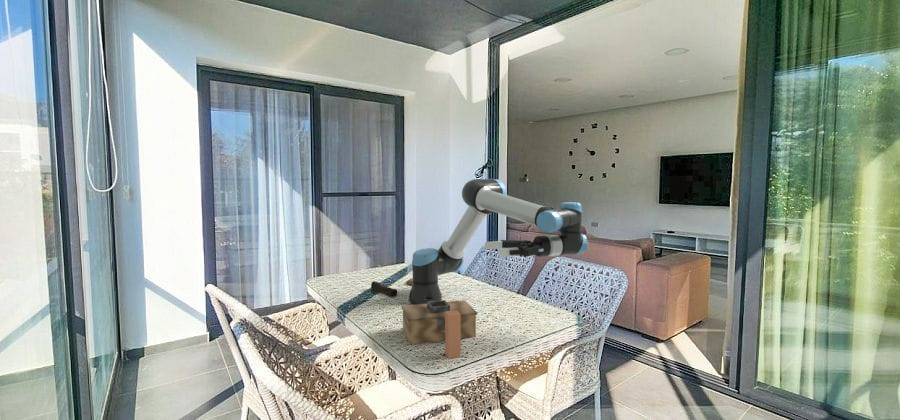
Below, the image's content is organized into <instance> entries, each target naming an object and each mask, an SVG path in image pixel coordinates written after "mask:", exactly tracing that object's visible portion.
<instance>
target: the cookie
mask: <svg viewBox="0 0 900 420" xmlns="http://www.w3.org/2000/svg"><path fill="white" fill-rule="evenodd" d="M406 284H407V285H408V286H409V287H412V285H413V277H412V278H409V279H408V280H407V281H406Z"/></svg>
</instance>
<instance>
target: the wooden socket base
mask: <svg viewBox="0 0 900 420" xmlns="http://www.w3.org/2000/svg"><path fill="white" fill-rule="evenodd" d="M401 310H402V330H403V332H404V335H405V337H406V340H407V342H408V344H409V345H416V344H426V343H433V342H441V341H443V342H444V341H445V311H455V310H457V311H458V312H459V313H460V314H461V339H469V338H475V337H477V336H476V334H477V333H476V332H477V331H476V329H477V328H476V326H477V319H476V318H477V315H478V312H477V311H476V310H475V309H474V308H473V306H472V305H470V304H469V303H468V302H467V300H465V299H464V300H462V299H461V300H452V301H446V299H445V300H444V299H442V300H441V301H430V302H427V304H417V305H415V304H409V305H401Z"/></svg>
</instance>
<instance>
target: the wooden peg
mask: <svg viewBox="0 0 900 420" xmlns="http://www.w3.org/2000/svg"><path fill="white" fill-rule="evenodd" d="M461 341H462V338H461V314H460V313H459V312H458V311H457V310H455V311H445V340H444V343H445V345H444V354H445V355H446V357H447V359H455V358H461V354H462V353H461V351H462V350H461V345H462V344H461V343H462V342H461Z"/></svg>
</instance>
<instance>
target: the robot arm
mask: <svg viewBox="0 0 900 420" xmlns="http://www.w3.org/2000/svg"><path fill="white" fill-rule="evenodd" d="M461 197H462V200H463V202H464V203H465V204H466V205H467V206H468V207H467V208H466V211H465V212H464V214H463V216H462V217H461V219H460V220H459V221H458V224H457V225H456V226H455V228H454V229H453V232H452V233H451V235H450V236H449V238H448V240H445V241H443V242H442V243H441V245H440V246H439V248H438V249H437V248H435V247H427V248H421V249H418V250H415V251H414V252H413V254H412V259H411V260H412V261H411V265H412V266H411V267H412V269H411V270H412V278H413V285H412V286H411V288H410V291H409V295H408V302H409V303H410V304H411V305H417V304H427V302H430V301H441V300H443V297H442V296H443V294H442V292H441V289H440V284H439V276H441V275H444V274H445V275H446V274H448V273H453V272H456V271H458V270H459V269H461V268H462V267H463V264H464V261H465V260H464V259H465V256H464V255H465V252H464V251H465V248H466V247H467V246H468V243H470V241H471V239H472V237H473V236H474V235H475V233H476V231H477V230H478V229H479V227H480V225H481V224H482V222H484V221H483V220H484V219H485V217H486V216H489V215H491V214H492V213H493V212H494V213H496V214H499V215H502V216H505V217H507V218H508V217H509V218H510V219H514V220H517V221H520V222H523V223H526V224H528V225H532V226H534V227H537V228H538V229H539V230H540V232H543V233H546V234H547V233H551V234H552V235H536V236H535V237H534V238H533V241H531V240H527V239H524V240H518V239H516V240H514V239H500V240H498V241H497V240H495V241H493V240H492V241H485V242H484V249H485V250H498V253H499V254H498V255H499V257H500V258H502V257H516V256H519V257H523V258H527V257H530V256H536V257H539V258H540V257H541V258H542V257H552V258H555V257H556V256H569V255H570V256H576V255H581V254H585V253H586V252H587V251H588V250H589V249H588V248H589V241H588V237H587V236H586V235H585V234H583V233H582V222H583V221H582V215H583V209H582V204H581V203H580V202H576V201H575V202H573V201H572V202H571V201H569V202H568V201H567V202H566V201H565V202H562V203H561V204H560V208H558V209H557V208H556V209H554V208H550V207H546V206H544V205H540V204H537V203H534V202H530V201H527V200H524V199H520V198H517V197H513V196H511V195H508V193H507V188H506V186H505V184H504V182H502V181H501V180H500V179H495V178H475V179H471V180H469V181H468V182H466V183H465V184H464V186H463V188H462V189H461ZM557 232H559V234H553V233H557Z"/></svg>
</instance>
